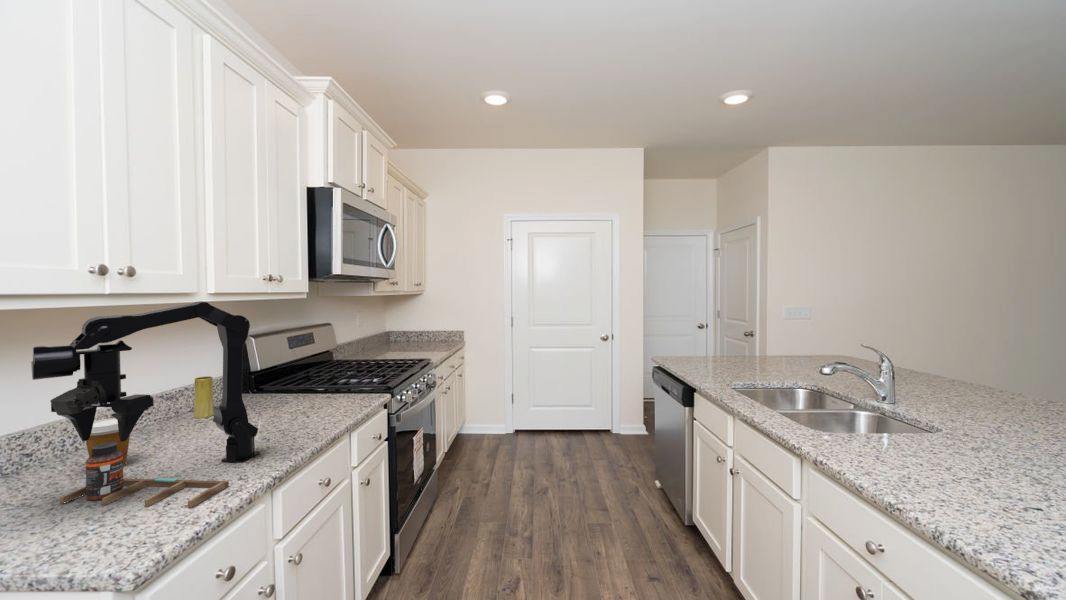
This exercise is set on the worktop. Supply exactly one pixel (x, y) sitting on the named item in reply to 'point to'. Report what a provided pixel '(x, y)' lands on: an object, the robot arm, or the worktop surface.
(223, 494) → the worktop surface
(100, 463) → the supplement bottle
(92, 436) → the disposable coffee cup
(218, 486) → the notched rack
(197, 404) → the vase
